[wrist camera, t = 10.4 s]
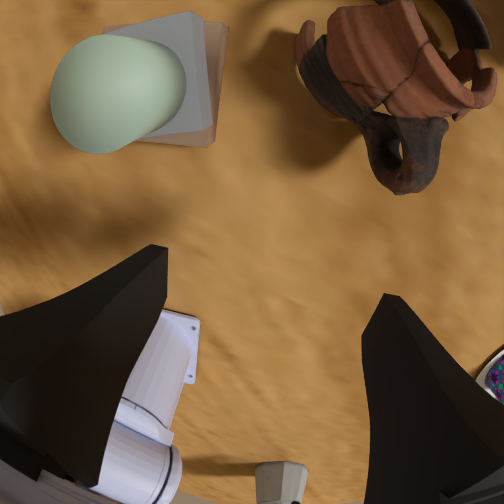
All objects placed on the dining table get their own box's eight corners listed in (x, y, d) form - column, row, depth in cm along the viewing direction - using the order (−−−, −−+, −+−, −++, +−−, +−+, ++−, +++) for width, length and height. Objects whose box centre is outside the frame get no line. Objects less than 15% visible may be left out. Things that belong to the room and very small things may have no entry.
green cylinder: (182, 136, 14) (149, 157, 11) (98, 132, 14) (52, 152, 11) (191, 39, 12) (157, 29, 8) (101, 44, 12) (52, 43, 9)
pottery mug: (271, -6, 13) (352, -86, 6) (394, 21, 16) (484, -12, 9) (296, 195, 17) (411, 215, 9) (417, 183, 19) (520, 197, 12)
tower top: (212, 123, 16) (202, 130, 14) (115, 137, 17) (97, 146, 15) (202, 17, 13) (190, 11, 11) (102, 42, 14) (82, 41, 12)
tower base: (217, 139, 19) (207, 148, 17) (116, 130, 19) (97, 138, 17) (231, 29, 15) (221, 22, 13) (123, 30, 15) (103, 27, 13)
